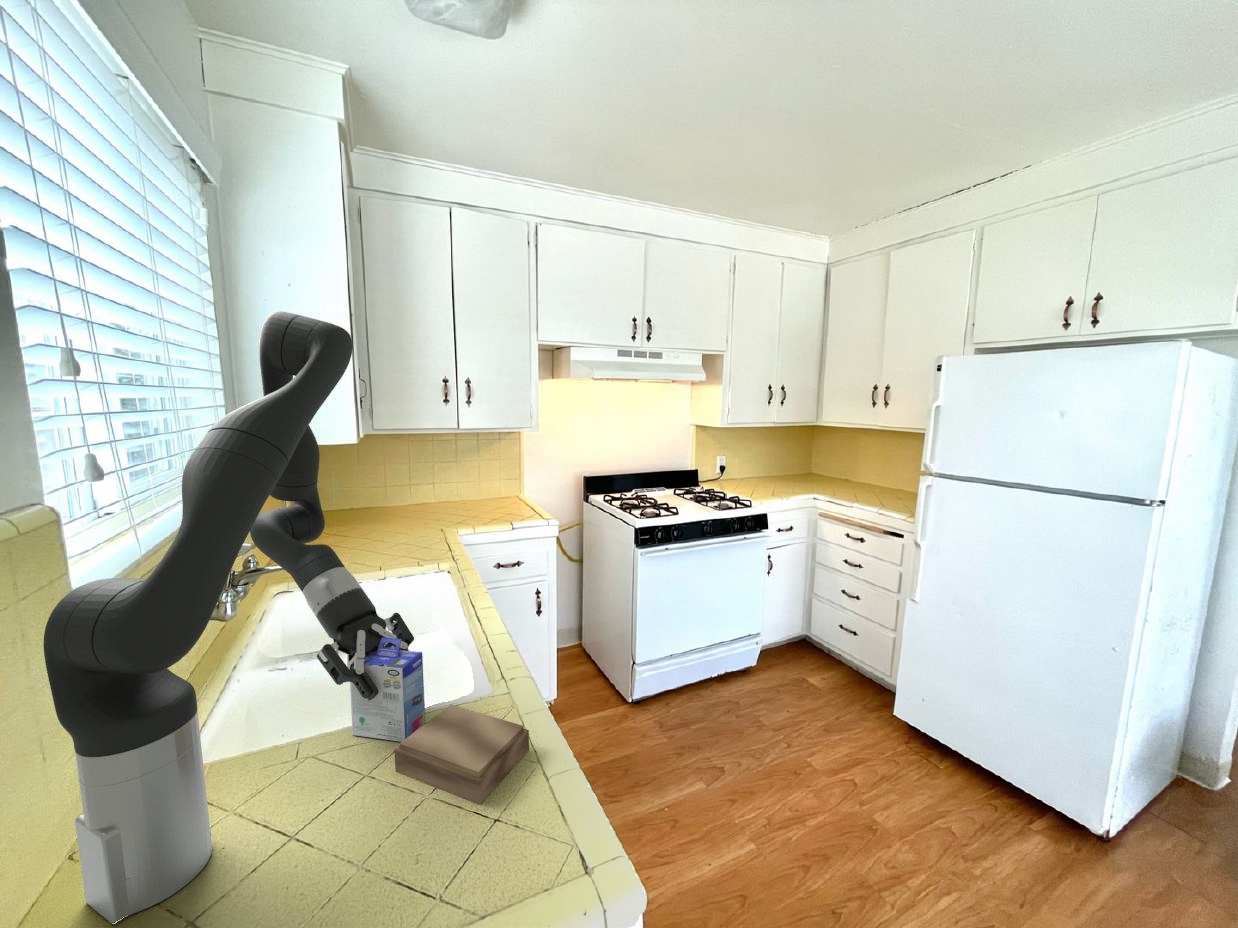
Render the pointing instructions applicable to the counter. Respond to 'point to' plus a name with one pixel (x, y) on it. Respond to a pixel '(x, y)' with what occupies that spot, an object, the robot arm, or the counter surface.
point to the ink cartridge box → (390, 694)
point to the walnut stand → (462, 752)
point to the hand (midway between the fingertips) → (394, 683)
